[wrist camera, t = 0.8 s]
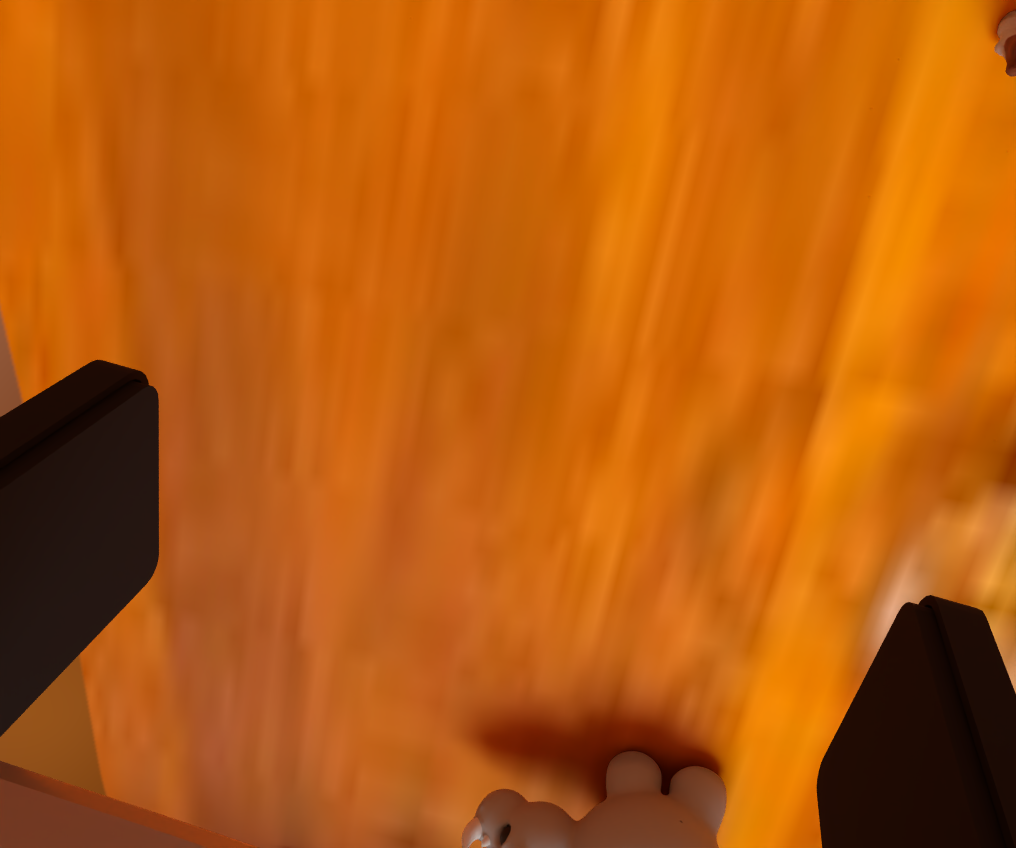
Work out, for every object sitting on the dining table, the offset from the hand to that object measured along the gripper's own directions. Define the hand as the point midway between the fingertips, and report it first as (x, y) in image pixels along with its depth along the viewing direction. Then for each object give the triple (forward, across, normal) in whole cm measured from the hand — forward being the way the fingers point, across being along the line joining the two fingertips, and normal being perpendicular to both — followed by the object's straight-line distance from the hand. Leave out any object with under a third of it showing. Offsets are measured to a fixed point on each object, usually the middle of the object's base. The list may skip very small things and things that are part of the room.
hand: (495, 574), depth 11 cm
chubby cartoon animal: (+25, -6, +30) cm, 39 cm away
